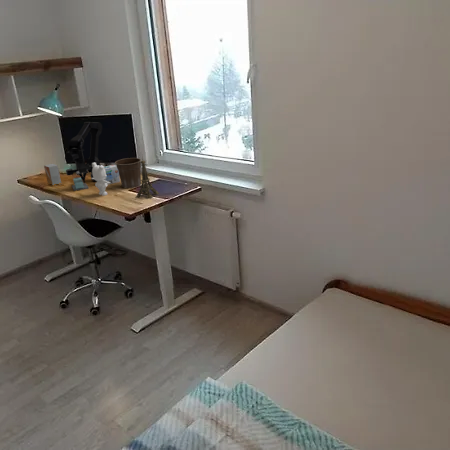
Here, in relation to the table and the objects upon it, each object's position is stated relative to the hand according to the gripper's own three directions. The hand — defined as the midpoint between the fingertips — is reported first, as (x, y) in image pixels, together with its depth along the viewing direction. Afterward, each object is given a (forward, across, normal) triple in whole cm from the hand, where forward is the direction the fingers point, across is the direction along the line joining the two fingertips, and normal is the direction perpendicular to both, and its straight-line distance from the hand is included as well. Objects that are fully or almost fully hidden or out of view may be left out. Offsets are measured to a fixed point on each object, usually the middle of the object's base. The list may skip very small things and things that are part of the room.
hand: (84, 182), depth 298 cm
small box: (+3, -17, +22) cm, 28 cm away
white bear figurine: (+4, +7, -23) cm, 24 cm away
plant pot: (+4, +27, -15) cm, 31 cm away
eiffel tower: (+5, +30, -42) cm, 52 cm away
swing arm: (+1, -3, +3) cm, 5 cm away
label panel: (+3, -3, +1) cm, 4 cm away
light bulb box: (+4, +17, +1) cm, 18 cm away
